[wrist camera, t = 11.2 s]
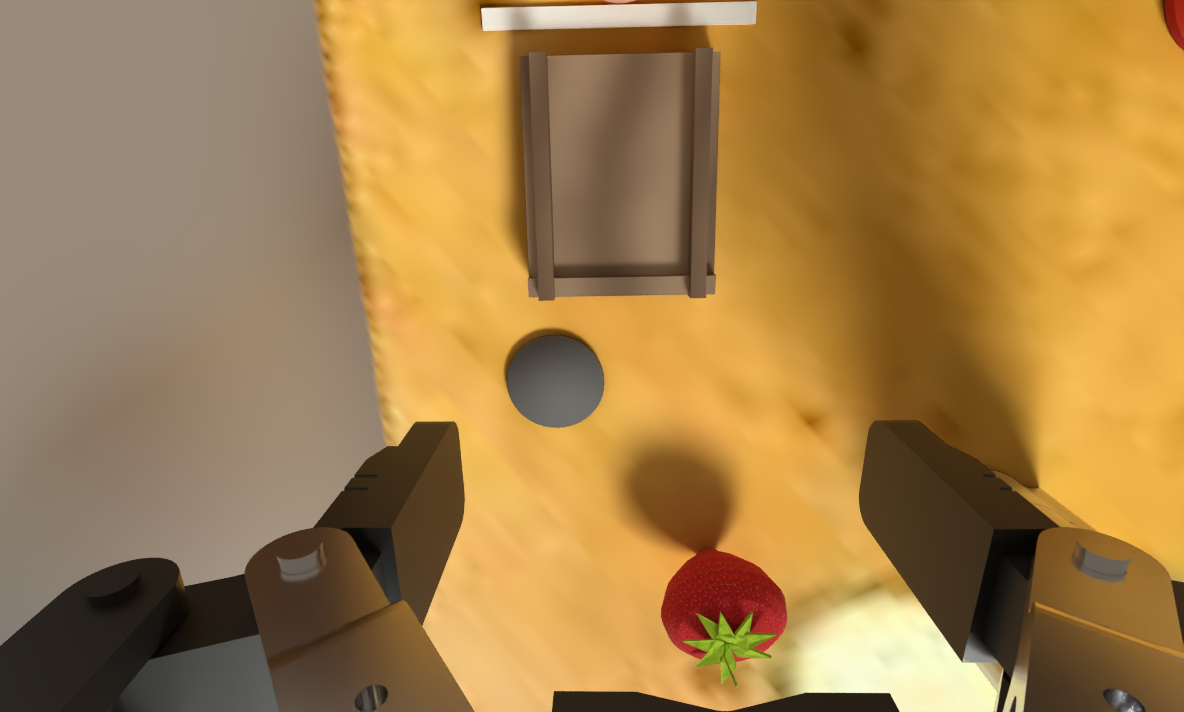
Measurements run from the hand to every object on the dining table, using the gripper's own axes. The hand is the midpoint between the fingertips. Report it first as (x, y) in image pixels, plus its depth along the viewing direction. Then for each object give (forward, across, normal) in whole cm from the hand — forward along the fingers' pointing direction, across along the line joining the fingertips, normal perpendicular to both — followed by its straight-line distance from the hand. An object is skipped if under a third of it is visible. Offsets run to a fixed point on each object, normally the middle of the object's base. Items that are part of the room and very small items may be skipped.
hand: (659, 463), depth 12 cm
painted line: (+24, 0, -12) cm, 27 cm away
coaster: (+24, +4, +8) cm, 26 cm away
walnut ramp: (+24, 0, -4) cm, 25 cm away
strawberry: (+24, -6, +20) cm, 32 cm away
